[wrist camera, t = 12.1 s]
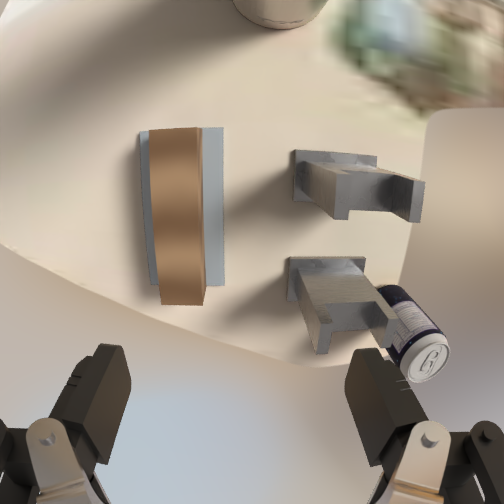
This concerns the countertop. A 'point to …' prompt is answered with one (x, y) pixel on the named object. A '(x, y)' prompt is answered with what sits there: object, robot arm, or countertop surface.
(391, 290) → the beverage can
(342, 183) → the grey metal bracket
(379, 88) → the countertop surface
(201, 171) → the rail
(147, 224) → the mat
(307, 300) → the grey bracket
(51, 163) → the countertop surface
